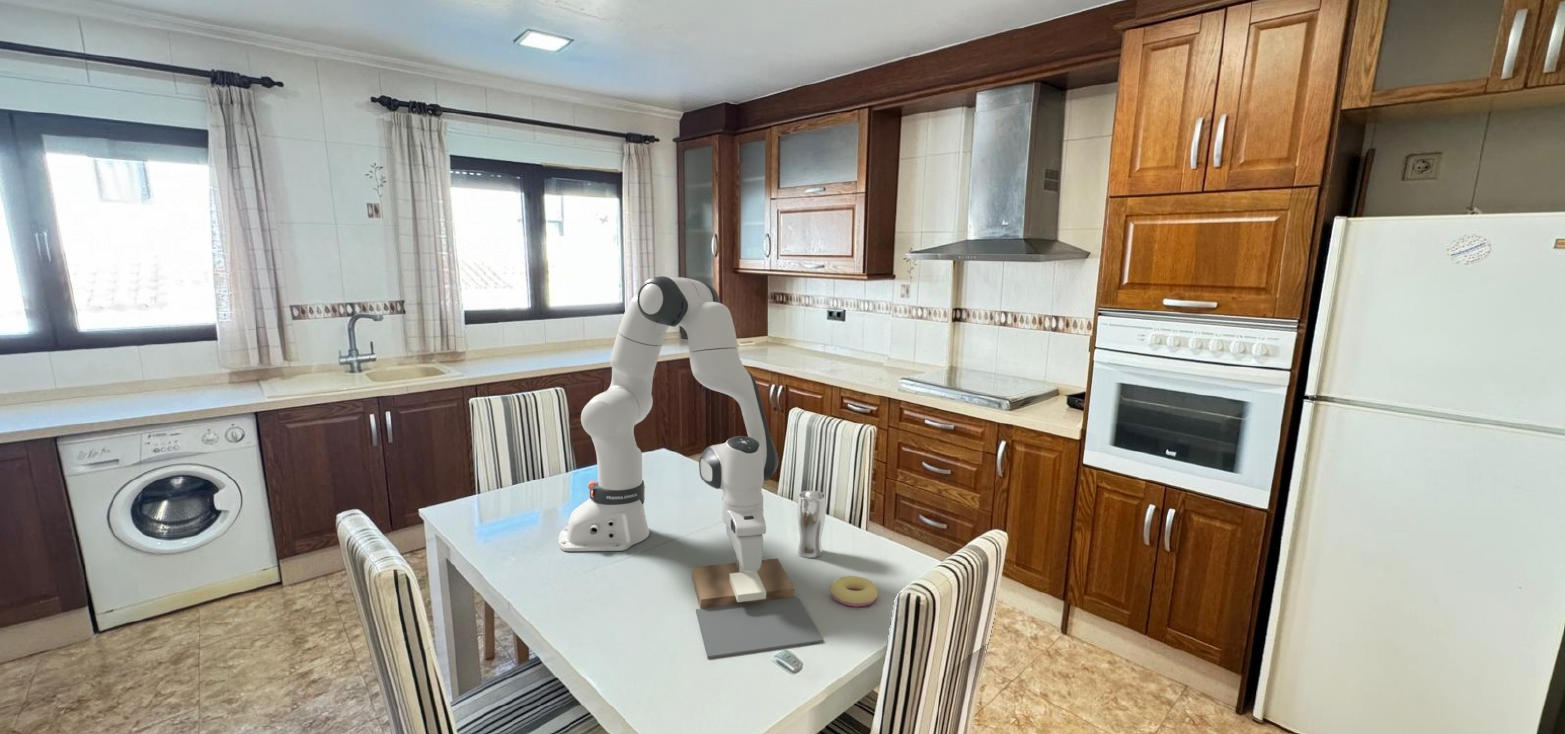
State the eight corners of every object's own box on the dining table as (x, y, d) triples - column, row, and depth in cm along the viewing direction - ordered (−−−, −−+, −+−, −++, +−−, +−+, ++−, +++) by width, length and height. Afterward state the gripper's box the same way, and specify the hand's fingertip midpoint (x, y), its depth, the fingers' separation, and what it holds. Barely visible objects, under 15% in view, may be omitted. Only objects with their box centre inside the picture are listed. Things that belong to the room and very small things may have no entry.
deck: (700, 610, 130) (700, 599, 129) (692, 577, 143) (692, 567, 143) (794, 599, 135) (794, 588, 135) (777, 568, 148) (777, 558, 148)
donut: (834, 594, 142) (830, 611, 133) (832, 574, 142) (828, 589, 133) (879, 592, 140) (878, 609, 131) (877, 572, 140) (875, 587, 131)
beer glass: (791, 554, 155) (792, 496, 153) (803, 544, 161) (805, 488, 159) (816, 561, 152) (819, 502, 149) (828, 550, 158) (830, 493, 156)
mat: (707, 658, 114) (707, 656, 114) (695, 611, 129) (695, 608, 129) (822, 642, 120) (822, 639, 120) (798, 598, 135) (798, 596, 135)
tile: (737, 602, 129) (737, 595, 128) (729, 580, 137) (729, 573, 137) (766, 598, 130) (766, 591, 130) (756, 577, 139) (756, 570, 138)
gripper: (720, 495, 146) (719, 551, 148) (737, 532, 127) (737, 596, 129) (746, 493, 148) (746, 549, 150) (768, 529, 128) (767, 592, 131)
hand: (742, 571), depth 139 cm, fingers closed
